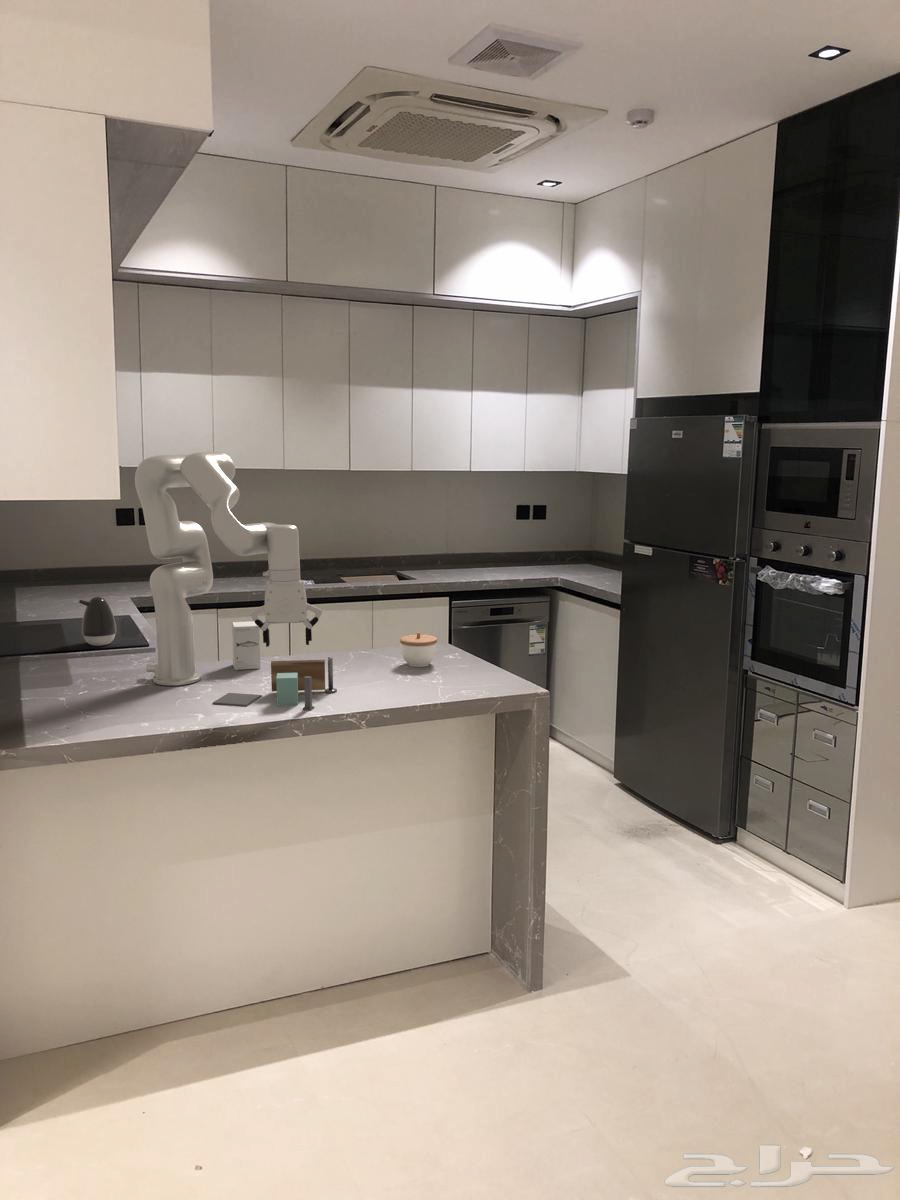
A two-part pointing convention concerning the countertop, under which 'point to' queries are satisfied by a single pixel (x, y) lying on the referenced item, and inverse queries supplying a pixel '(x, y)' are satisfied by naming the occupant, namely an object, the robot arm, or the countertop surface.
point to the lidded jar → (418, 649)
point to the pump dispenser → (98, 622)
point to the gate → (300, 672)
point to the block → (287, 689)
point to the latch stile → (308, 693)
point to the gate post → (330, 677)
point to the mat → (237, 699)
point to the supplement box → (246, 645)
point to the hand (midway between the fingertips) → (287, 644)
